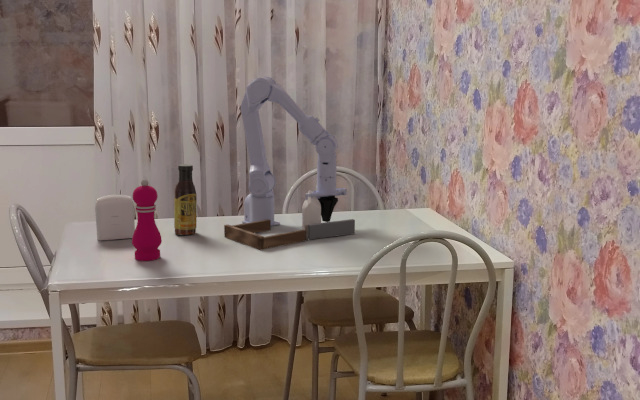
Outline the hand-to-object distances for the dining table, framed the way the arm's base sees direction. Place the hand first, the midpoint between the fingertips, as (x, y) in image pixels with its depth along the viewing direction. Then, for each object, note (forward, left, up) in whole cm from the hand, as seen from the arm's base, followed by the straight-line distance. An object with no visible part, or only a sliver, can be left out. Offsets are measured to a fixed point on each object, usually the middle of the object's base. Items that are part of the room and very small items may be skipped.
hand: (326, 221), depth 210 cm
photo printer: (-26, -55, -2) cm, 61 cm away
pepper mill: (-3, -57, -2) cm, 57 cm away
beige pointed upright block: (0, -6, -2) cm, 6 cm away
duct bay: (0, -23, -2) cm, 23 cm away
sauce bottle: (-19, -37, -2) cm, 41 cm away
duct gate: (+10, -6, -2) cm, 11 cm away
